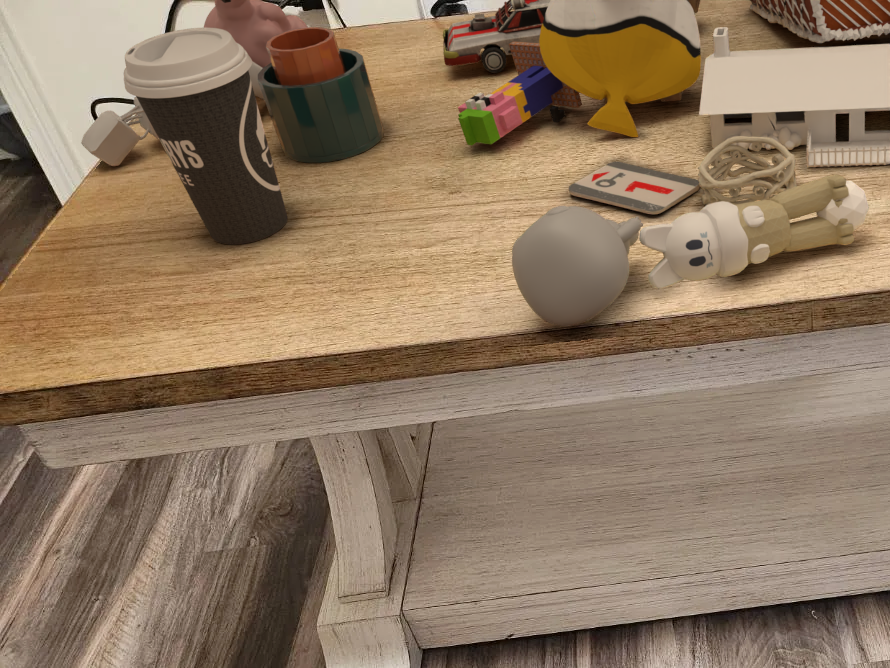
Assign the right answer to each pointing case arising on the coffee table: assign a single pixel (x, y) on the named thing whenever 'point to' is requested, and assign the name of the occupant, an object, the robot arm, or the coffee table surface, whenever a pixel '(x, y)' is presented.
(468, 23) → the toy car
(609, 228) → the figurine
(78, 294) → the coffee table surface
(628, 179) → the token
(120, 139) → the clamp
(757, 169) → the bracelet
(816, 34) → the gingerbread house
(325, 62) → the cup
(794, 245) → the rabbit figurine
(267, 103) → the teal round container
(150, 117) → the coffee cup
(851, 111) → the house
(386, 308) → the coffee table surface
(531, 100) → the figurine
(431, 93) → the coffee table surface
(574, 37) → the fish
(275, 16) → the figurine
